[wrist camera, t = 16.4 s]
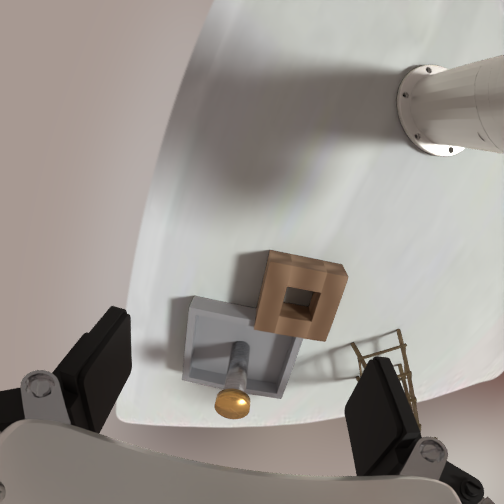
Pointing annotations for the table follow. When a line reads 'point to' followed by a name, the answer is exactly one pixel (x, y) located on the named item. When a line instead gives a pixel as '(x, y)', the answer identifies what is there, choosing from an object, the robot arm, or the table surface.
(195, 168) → the table surface
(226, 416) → the pin
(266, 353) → the tray
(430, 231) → the table surface
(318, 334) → the socket block
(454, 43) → the table surface
